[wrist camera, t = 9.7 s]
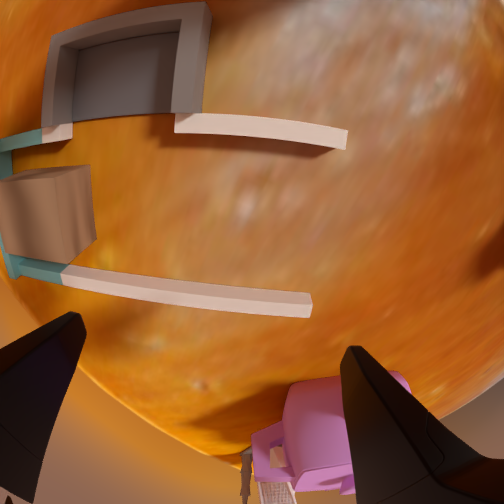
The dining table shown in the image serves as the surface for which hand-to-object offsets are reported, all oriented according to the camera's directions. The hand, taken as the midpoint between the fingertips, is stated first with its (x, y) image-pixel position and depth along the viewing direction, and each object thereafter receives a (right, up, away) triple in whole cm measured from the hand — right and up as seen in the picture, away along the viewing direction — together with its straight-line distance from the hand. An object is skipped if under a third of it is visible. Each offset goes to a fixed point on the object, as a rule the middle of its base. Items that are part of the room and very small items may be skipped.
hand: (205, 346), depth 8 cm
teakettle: (+12, -15, +20) cm, 28 cm away
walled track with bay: (-8, +9, +9) cm, 15 cm away
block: (-15, +7, +10) cm, 19 cm away
